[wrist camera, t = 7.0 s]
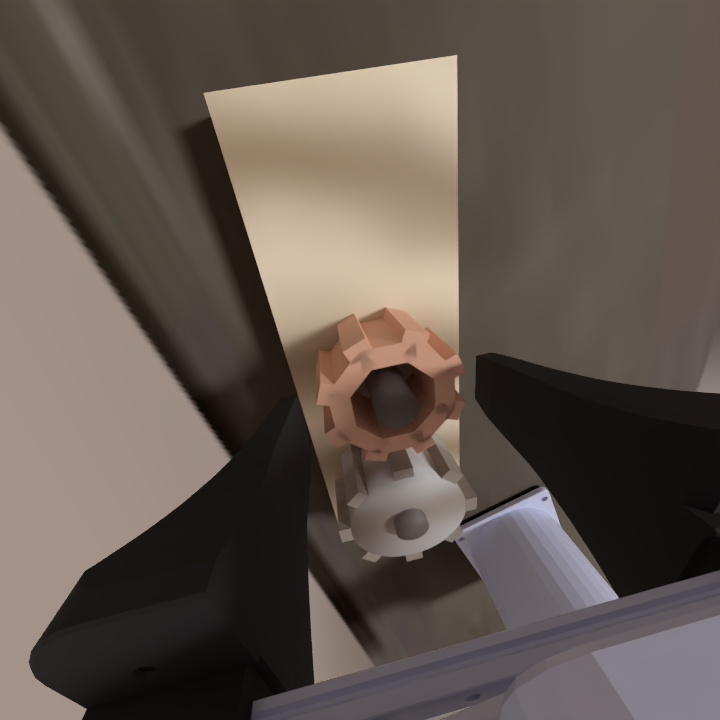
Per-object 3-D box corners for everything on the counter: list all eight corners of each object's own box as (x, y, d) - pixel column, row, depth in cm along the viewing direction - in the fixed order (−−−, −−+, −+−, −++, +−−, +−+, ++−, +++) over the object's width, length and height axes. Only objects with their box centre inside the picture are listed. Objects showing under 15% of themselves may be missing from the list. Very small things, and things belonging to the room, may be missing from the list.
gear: (433, 297, 12) (466, 316, 10) (438, 403, 15) (465, 442, 12) (304, 323, 12) (301, 351, 9) (331, 427, 14) (335, 473, 12)
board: (449, 477, 20) (489, 551, 15) (337, 504, 19) (344, 589, 15) (438, 78, 10) (533, -39, 6) (218, 111, 10) (138, 13, 5)
